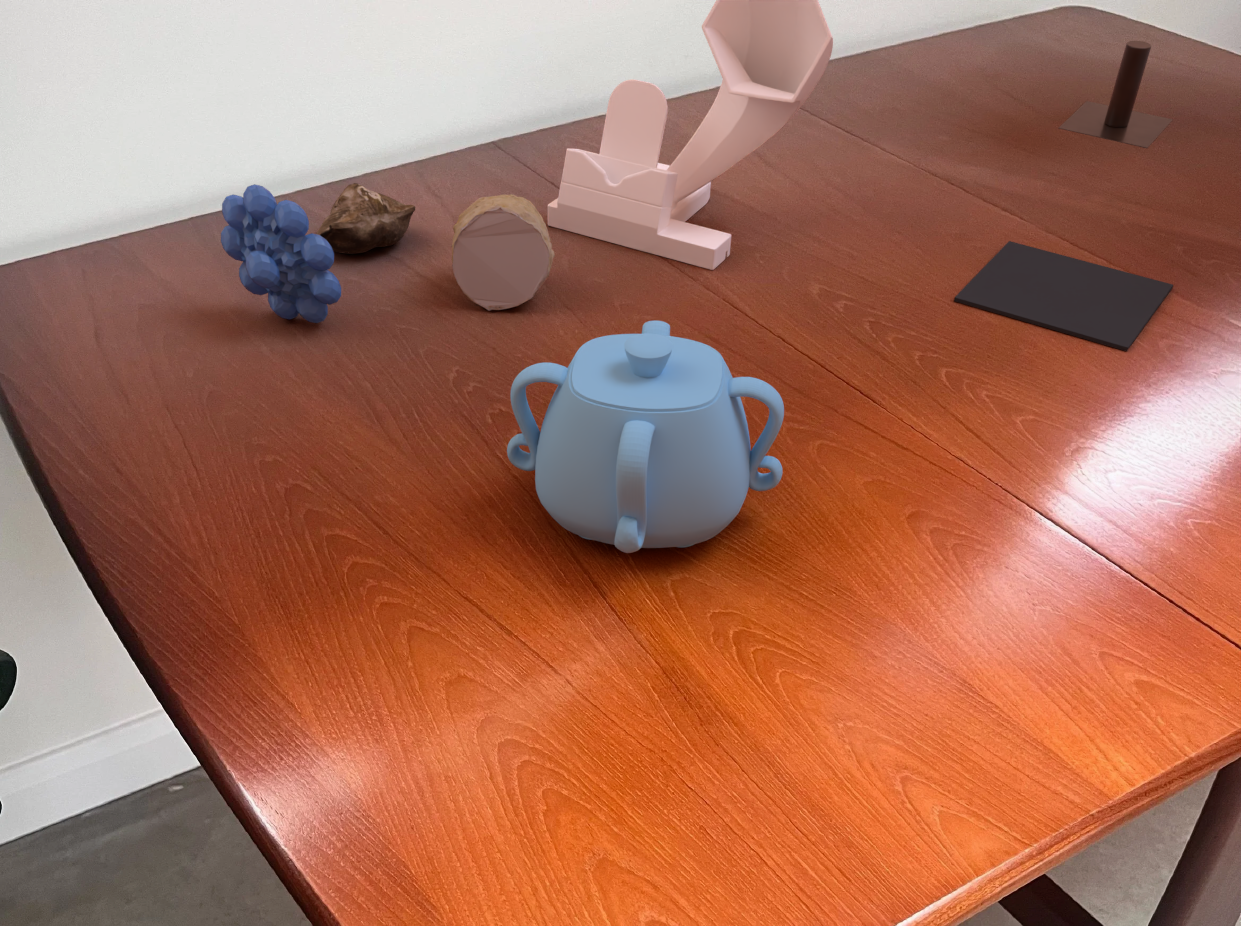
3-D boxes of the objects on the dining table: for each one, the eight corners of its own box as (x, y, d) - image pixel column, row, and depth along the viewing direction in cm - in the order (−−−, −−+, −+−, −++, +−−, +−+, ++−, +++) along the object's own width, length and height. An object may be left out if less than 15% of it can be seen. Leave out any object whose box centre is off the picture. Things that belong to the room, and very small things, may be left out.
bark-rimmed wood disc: (430, 252, 110) (447, 163, 113) (455, 327, 119) (470, 242, 123) (539, 252, 108) (552, 161, 112) (556, 328, 117) (568, 241, 121)
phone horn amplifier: (547, 225, 129) (543, -49, 112) (622, 171, 139) (629, -88, 122) (773, 286, 120) (807, -1, 103) (837, 224, 130) (878, -48, 112)
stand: (1169, 132, 147) (1198, 40, 140) (1143, 161, 141) (1172, 66, 134) (1083, 113, 151) (1107, 23, 144) (1054, 141, 145) (1078, 48, 138)
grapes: (207, 326, 114) (179, 195, 106) (251, 293, 119) (227, 165, 110) (318, 354, 111) (298, 221, 102) (359, 319, 115) (342, 189, 107)
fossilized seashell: (319, 249, 120) (424, 252, 123) (315, 174, 118) (422, 179, 122) (308, 258, 127) (408, 261, 130) (304, 188, 125) (405, 192, 129)
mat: (1172, 288, 120) (1173, 284, 120) (1126, 351, 111) (1128, 347, 111) (1008, 244, 126) (1009, 240, 126) (953, 301, 118) (954, 297, 118)
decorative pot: (602, 605, 87) (606, 437, 78) (493, 483, 97) (485, 321, 88) (794, 531, 93) (819, 367, 84) (673, 424, 103) (683, 266, 94)
